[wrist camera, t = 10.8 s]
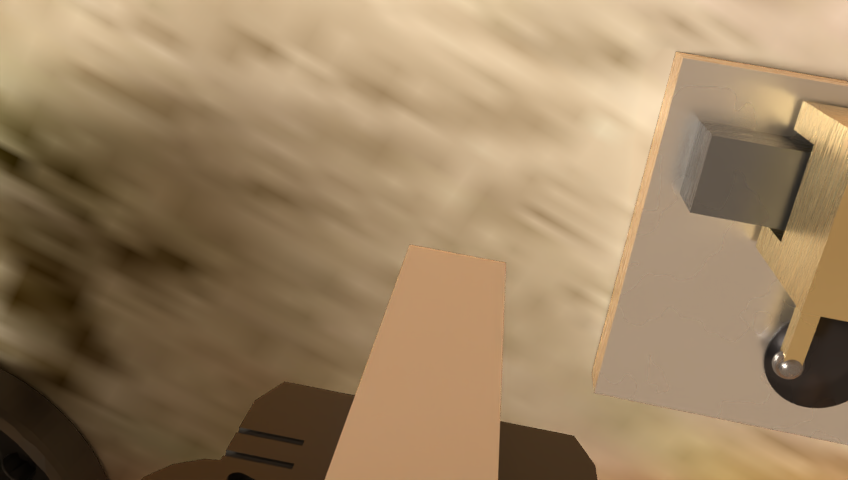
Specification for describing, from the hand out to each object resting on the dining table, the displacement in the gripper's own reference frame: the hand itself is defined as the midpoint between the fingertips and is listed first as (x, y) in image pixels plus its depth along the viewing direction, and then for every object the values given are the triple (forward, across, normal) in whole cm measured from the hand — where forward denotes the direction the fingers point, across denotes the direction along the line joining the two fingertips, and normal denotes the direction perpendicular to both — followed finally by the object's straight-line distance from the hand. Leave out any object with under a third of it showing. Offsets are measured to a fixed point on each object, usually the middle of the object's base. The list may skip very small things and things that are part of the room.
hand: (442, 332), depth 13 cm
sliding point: (+14, -11, +2) cm, 18 cm away
